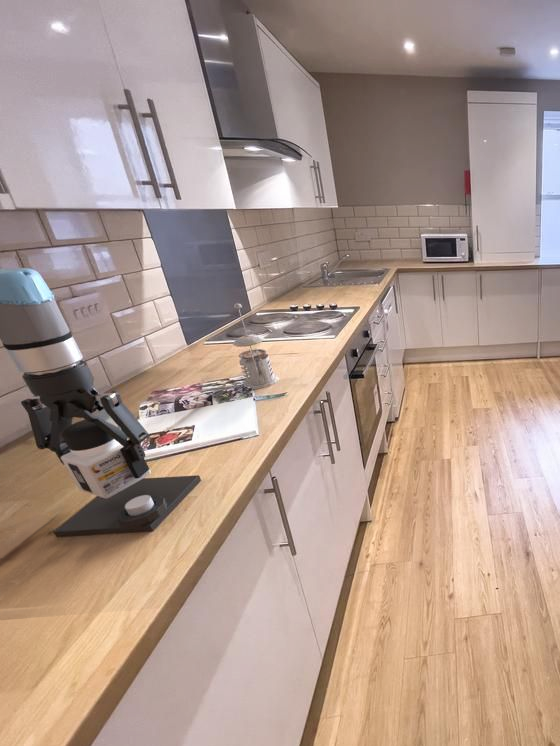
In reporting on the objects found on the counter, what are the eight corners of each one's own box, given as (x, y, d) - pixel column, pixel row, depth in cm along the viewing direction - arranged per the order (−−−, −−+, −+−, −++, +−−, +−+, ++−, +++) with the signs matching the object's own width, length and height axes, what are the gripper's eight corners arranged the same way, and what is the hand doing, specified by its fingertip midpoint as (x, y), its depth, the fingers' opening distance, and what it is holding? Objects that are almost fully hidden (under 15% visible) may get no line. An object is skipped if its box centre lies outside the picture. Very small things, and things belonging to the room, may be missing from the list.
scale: (55, 538, 71) (46, 525, 69) (120, 485, 84) (113, 473, 82) (153, 532, 72) (146, 519, 70) (202, 480, 85) (197, 468, 83)
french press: (274, 373, 134) (252, 297, 123) (283, 384, 126) (261, 304, 115) (240, 381, 128) (214, 303, 117) (247, 394, 120) (220, 311, 109)
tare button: (123, 517, 72) (119, 509, 71) (138, 503, 75) (134, 495, 74) (145, 515, 72) (141, 508, 71) (159, 501, 75) (155, 494, 74)
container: (106, 499, 73) (71, 438, 67) (79, 491, 75) (43, 431, 70) (152, 473, 80) (124, 416, 74) (126, 466, 82) (97, 410, 76)
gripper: (142, 355, 71) (187, 460, 81) (4, 360, 70) (68, 466, 79) (106, 372, 64) (161, 484, 74) (-47, 378, 63) (30, 492, 73)
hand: (113, 475), depth 77 cm, fingers closed on container, 10 cm apart
